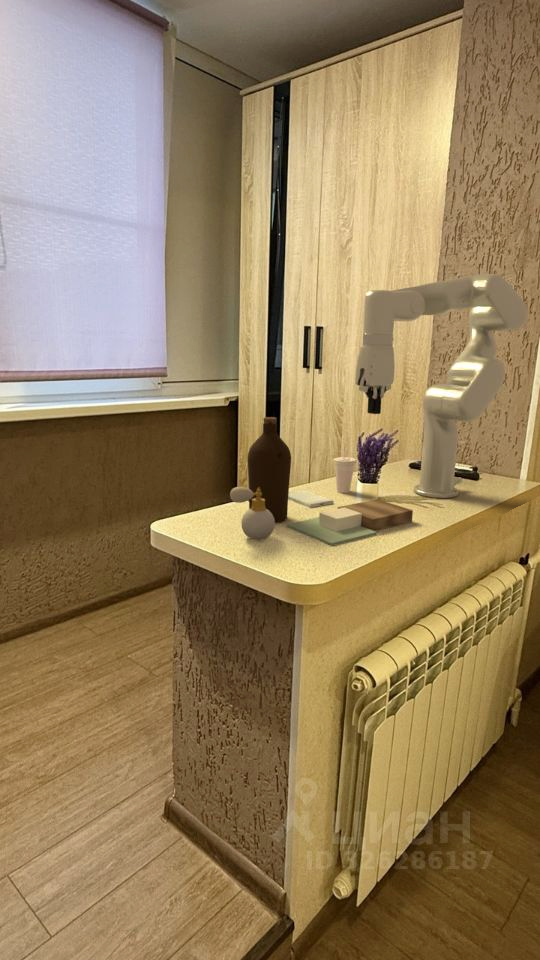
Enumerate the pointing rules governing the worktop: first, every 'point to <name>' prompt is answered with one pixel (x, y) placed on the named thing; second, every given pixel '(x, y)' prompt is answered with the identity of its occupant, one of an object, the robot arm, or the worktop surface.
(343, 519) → the cream rectangular block
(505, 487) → the worktop surface
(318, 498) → the hard drive
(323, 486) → the worktop surface
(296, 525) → the mat
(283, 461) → the olive oil
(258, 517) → the perfume bottle
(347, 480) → the smoothie
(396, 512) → the wooden block
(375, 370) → the robot arm
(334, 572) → the worktop surface
